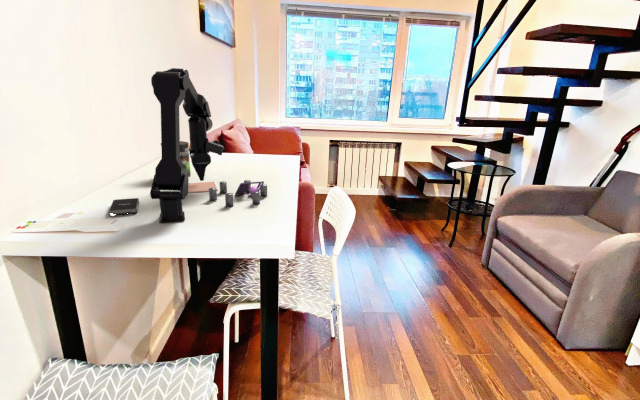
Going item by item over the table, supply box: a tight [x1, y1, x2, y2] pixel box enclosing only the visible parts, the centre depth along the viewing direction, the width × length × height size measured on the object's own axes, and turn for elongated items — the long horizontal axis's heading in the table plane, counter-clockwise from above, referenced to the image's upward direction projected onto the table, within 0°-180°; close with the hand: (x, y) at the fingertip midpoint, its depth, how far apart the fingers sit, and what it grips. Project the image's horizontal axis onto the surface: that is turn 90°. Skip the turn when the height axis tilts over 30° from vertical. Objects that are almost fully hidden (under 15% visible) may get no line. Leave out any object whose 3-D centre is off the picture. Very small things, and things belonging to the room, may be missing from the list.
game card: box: [234, 180, 265, 197], centre depth 121 cm, size 7×5×9 cm
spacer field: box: [208, 179, 268, 208], centre depth 118 cm, size 17×19×4 cm
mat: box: [188, 181, 218, 194], centre depth 128 cm, size 12×10×1 cm
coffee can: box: [180, 140, 192, 179], centre depth 140 cm, size 10×10×14 cm
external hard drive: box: [108, 197, 140, 216], centre depth 104 cm, size 7×11×2 cm, turn 23°
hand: (201, 177), depth 127 cm, fingers open, 9 cm apart
